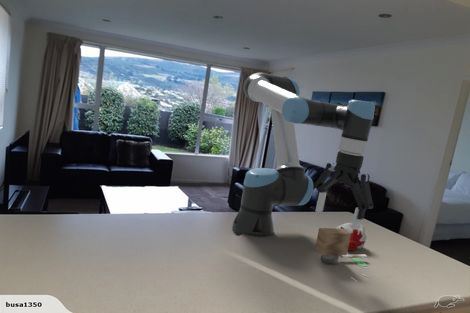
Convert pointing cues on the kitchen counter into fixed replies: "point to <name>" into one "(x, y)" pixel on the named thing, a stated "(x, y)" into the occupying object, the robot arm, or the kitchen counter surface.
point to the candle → (355, 236)
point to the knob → (334, 245)
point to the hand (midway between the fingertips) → (335, 219)
